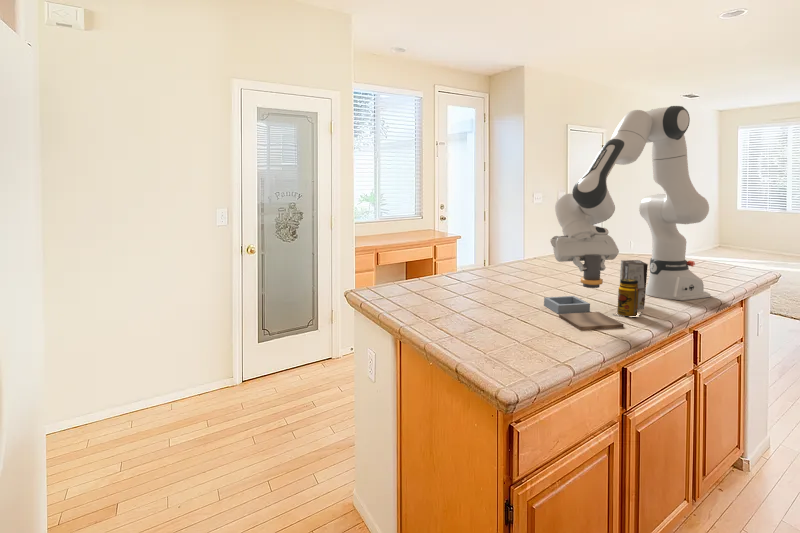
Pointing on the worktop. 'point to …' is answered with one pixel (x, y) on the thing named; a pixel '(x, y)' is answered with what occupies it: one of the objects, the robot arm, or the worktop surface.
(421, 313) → the worktop surface
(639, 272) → the coffee box
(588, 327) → the walnut board
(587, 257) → the plug
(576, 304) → the socket
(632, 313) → the condiment
